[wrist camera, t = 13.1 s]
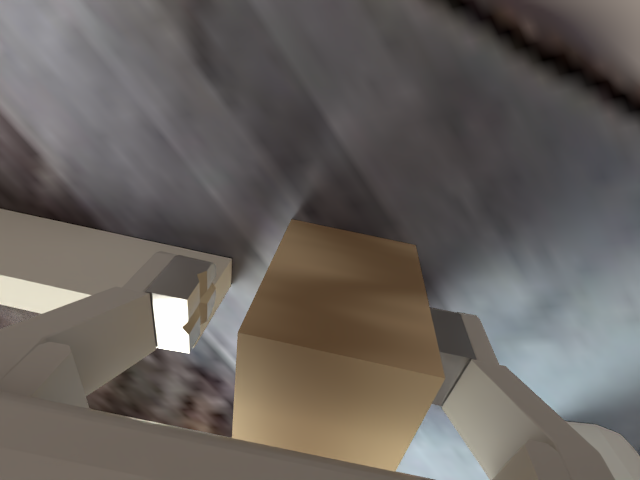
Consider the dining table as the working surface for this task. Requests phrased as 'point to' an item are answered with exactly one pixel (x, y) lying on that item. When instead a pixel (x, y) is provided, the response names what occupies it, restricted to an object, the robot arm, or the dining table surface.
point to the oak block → (337, 349)
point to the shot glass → (611, 450)
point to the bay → (77, 262)
